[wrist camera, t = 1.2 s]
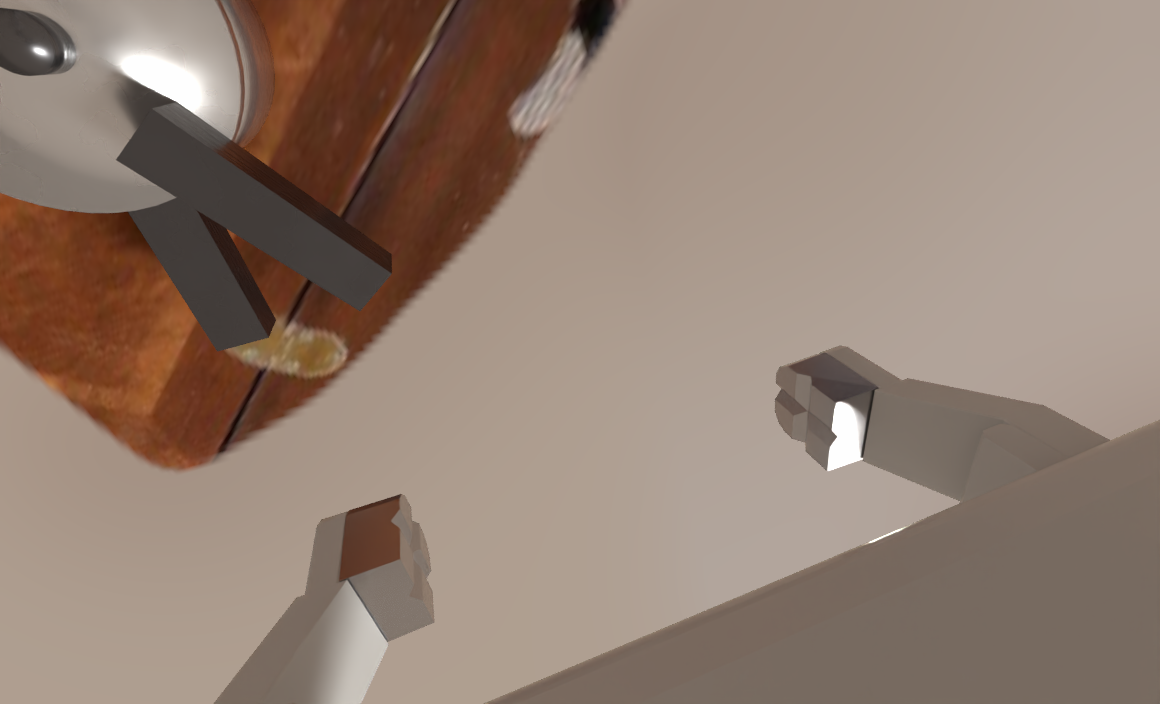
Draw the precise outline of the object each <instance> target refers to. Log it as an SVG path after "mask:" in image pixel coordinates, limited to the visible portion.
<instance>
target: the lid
mask: <svg viewBox="0 0 1160 704" xmlns="http://www.w3.org/2000/svg"><path fill="white" fill-rule="evenodd" d="M244 99H245V83H244V70H243V64H242V60H241V55H240V50H239V46H238V43H237V40H236V37H235V34H234V31H233V28H232V25H231V22H230V20H229V18H228V16H227V14H226V12H225V9H224V7H223V5H222V3H221V1H220V0H0V193H3V194H5V195H8V196H11V197H13V198H17V199H20V200H23V201H27V202H30V203H34V204H37V205H41V206H46V207H51V208H56V209H61V210H66V211H76V212H86V213H119V212H127V211H136V210H140V209H145V208H149V207H153V206H157V205H159V204H162V203H165V202H167V201H170V200H172V199H175V198H178V199H180V200H181V201H183V202H184V203H186V204H188V205H189V206H191V207H193V208H194V209H196V210H197V211H199V212H201V213H202V214H204V215H205V216H207V217H209V218H210V219H212V220H214V221H215V222H217V223H218V224H220V225H222V226H223V227H225V228H226V229H228V230H230V231H231V232H233V233H235V234H236V235H238V236H239V237H241V238H243V239H244V240H246V241H247V242H249V243H251V244H252V245H254V246H256V247H257V248H259V249H260V250H262V251H264V252H265V253H267V254H268V255H270V256H272V257H273V258H275V259H277V260H278V261H280V262H281V263H283V264H285V265H286V266H288V267H289V268H291V269H293V270H294V271H296V272H298V273H299V274H301V275H302V276H304V277H306V278H307V279H309V280H310V281H312V282H314V283H315V284H317V285H319V286H320V287H322V288H323V289H325V290H327V291H328V292H330V293H331V294H333V295H335V296H336V297H338V298H340V299H341V300H343V301H344V302H346V303H348V304H349V305H351V306H352V307H354V308H356V309H357V310H359V311H361V309H362V308H363V307H364V306H365V305H366V304H367V302H368V301H369V300H370V299H371V298H372V296H373V295H374V294H375V293H376V292H377V291H378V289H379V288H380V287H381V286H382V285H383V283H384V282H385V281H386V280H387V279H388V277H389V276H390V275H391V274H392V257H391V254H390V253H389V252H388V251H386V250H385V249H383V248H382V247H381V246H379V245H378V244H376V243H375V242H374V241H372V240H371V239H369V238H368V237H367V236H365V235H364V234H362V233H361V232H360V231H358V230H357V229H355V228H354V227H352V226H351V225H350V224H348V223H347V222H345V221H344V220H343V219H341V218H340V217H338V216H337V215H336V214H334V213H333V212H331V211H330V210H329V209H327V208H326V207H324V206H323V205H322V204H320V203H319V202H317V201H316V200H315V199H313V198H312V197H310V196H309V195H308V194H306V193H305V192H303V191H302V190H301V189H299V188H298V187H296V186H295V185H294V184H292V183H291V182H289V181H288V180H286V179H285V178H284V177H282V176H281V175H279V174H278V173H277V172H275V171H274V170H272V169H271V168H270V167H268V166H267V165H265V164H264V163H263V162H261V161H260V160H258V159H257V158H256V157H254V156H253V155H251V154H250V153H249V152H247V151H246V150H244V149H243V148H242V147H240V146H239V145H237V144H236V143H235V142H234V141H235V139H236V136H237V134H238V131H239V129H240V125H241V120H242V116H243V111H244Z"/></svg>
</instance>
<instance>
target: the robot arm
mask: <svg viewBox="0 0 1160 704" xmlns="http://www.w3.org/2000/svg"><path fill="white" fill-rule="evenodd" d="M776 384H777V385H778V386H779V387H780V388H781V391H780V392H779V394H778V396H777V397H776V399H775V413H776V416H777V419H778V422H779V424H780V425H781V427H782V428H783V430H784V431H785V432H786V433H787V434H788V435H789V436H790V437H791V438H792V439H795V440H798V441H802V442H805V448H806V452H807V453H808V454H809V455H810V456H811V457H812V458H813V459H814V460H816V461H817V462H818V463H819V464H820V465H821V466H822V467H823V468H824V469H825V470H826V471H829V470H832V469H835V468H838V467H841V466H844V465H846V464H849V463H852V462H855V461H858V460H861V459H863V461H864V462H867V463H869V464H871V465H874V466H876V467H878V468H881V469H883V470H886V471H888V472H891V473H893V474H895V475H898V476H900V477H903V478H905V479H907V480H910V481H912V482H915V483H917V484H920V485H922V486H925V487H927V488H929V489H932V490H934V491H937V492H939V493H941V494H944V495H946V496H949V497H951V498H953V499H956V500H958V501H960V503H959V504H958V505H955V506H953V507H951V508H948V509H946V510H943V511H941V512H939V513H937V514H934V515H932V516H929V517H927V518H925V519H922V520H920V521H917V522H915V523H912V524H910V525H908V526H906V527H903V528H901V529H898V530H896V531H893V532H891V533H889V534H887V535H884V536H882V537H879V538H877V539H875V540H872V541H870V542H867V543H865V544H863V545H860V546H858V547H856V548H853V549H851V550H849V551H846V552H844V553H841V554H839V555H837V556H834V557H832V558H830V559H827V560H825V561H823V562H820V563H818V564H815V565H813V566H811V567H809V568H806V569H804V570H801V571H799V572H796V573H794V574H792V575H789V576H787V577H785V578H782V579H780V580H777V581H775V582H773V583H770V584H768V585H766V586H763V587H761V588H758V589H756V590H754V591H751V592H749V593H746V594H745V595H742V596H740V597H737V598H734V599H732V600H730V601H727V602H725V603H723V604H720V605H718V606H715V607H713V608H711V609H708V610H706V611H703V612H701V613H699V614H697V615H694V616H692V617H689V618H687V619H684V620H682V621H680V622H677V623H675V624H672V625H670V626H668V627H665V628H663V629H661V630H658V631H656V632H653V633H651V634H649V635H646V636H644V637H642V638H639V639H637V640H635V641H632V642H630V643H627V644H625V645H623V646H620V647H618V648H615V649H613V650H611V651H608V652H606V653H603V654H601V655H599V656H596V657H594V658H592V659H589V660H587V661H584V662H582V663H580V664H577V665H575V666H572V667H570V668H568V669H565V670H563V671H561V672H558V673H556V674H553V675H551V676H549V677H546V678H544V679H541V680H539V681H537V682H534V683H532V684H530V685H527V686H525V687H522V688H520V689H518V690H515V691H513V692H511V693H508V694H506V695H503V696H501V697H499V698H496V699H494V700H491V701H489V702H487V703H484V704H1160V420H1158V421H1155V422H1153V423H1151V424H1148V425H1146V426H1143V427H1141V428H1139V429H1137V430H1134V431H1132V432H1129V433H1127V434H1124V435H1122V436H1120V437H1117V438H1115V439H1113V440H1109V439H1107V438H1105V437H1103V436H1101V435H1099V434H1097V433H1095V432H1093V431H1092V430H1090V429H1088V428H1086V427H1084V426H1082V425H1080V424H1078V423H1076V422H1075V421H1073V420H1071V419H1069V418H1067V417H1065V416H1063V415H1061V414H1059V413H1057V412H1055V411H1053V410H1051V409H1050V408H1048V407H1046V406H1044V405H1039V404H1034V403H1030V402H1024V401H1019V400H1015V399H1010V398H1004V397H999V396H994V395H989V394H984V393H979V392H974V391H969V390H964V389H959V388H954V387H949V386H944V385H939V384H934V383H929V382H924V381H919V380H914V379H908V378H907V379H905V380H900V379H899V378H897V377H896V376H894V375H892V374H891V373H889V372H887V371H886V370H884V369H883V368H881V367H879V366H878V365H876V364H874V363H873V362H871V361H870V360H868V359H866V358H865V357H863V356H861V355H860V354H858V353H857V352H855V351H853V350H852V349H850V348H848V347H845V346H837V347H834V348H831V349H829V350H826V351H823V352H821V353H819V354H816V355H813V356H810V357H807V358H804V359H802V360H799V361H796V362H793V363H790V364H787V365H784V366H781V367H779V369H778V371H777V373H776ZM430 572H431V566H430V557H429V552H428V548H427V543H426V540H425V537H424V534H423V532H422V529H421V527H420V525H419V523H417V522H414V521H412V514H411V506H410V504H409V503H408V501H407V499H406V497H405V496H404V495H402V494H400V495H397V496H394V497H391V498H387V499H384V500H381V501H378V502H375V503H371V504H369V505H365V506H362V507H359V508H356V509H352V510H349V511H348V512H344V513H341V514H338V515H335V516H332V517H329V518H325V519H322V520H321V521H320V523H319V524H318V525H317V528H316V534H315V539H314V545H313V551H312V556H311V562H310V568H309V574H308V580H307V585H306V591H305V595H303V596H300V597H297V598H296V599H295V600H294V601H293V603H292V604H291V605H290V607H289V608H288V609H287V610H286V612H285V613H284V614H283V615H282V617H281V618H280V619H279V621H278V622H277V623H276V624H275V626H274V627H273V628H272V630H271V631H270V632H269V633H268V635H267V636H266V637H265V638H264V640H263V641H262V642H261V644H260V645H259V646H258V647H257V649H256V650H255V651H254V653H253V654H252V655H251V656H250V658H249V659H248V660H247V662H246V663H245V664H244V666H243V667H242V668H241V669H240V670H239V672H238V673H237V674H236V676H235V677H234V678H233V680H232V681H231V682H230V683H229V685H228V686H227V687H226V688H225V690H224V691H223V692H222V694H221V695H220V696H219V697H218V699H217V700H216V701H215V702H214V704H361V702H362V700H363V698H364V696H365V694H366V692H367V689H368V687H369V685H370V683H371V681H372V679H373V677H374V674H375V672H376V670H377V668H378V666H379V664H380V662H381V659H382V657H383V655H384V653H385V651H386V649H387V647H388V643H387V642H388V641H391V640H393V639H396V638H398V637H400V636H403V635H405V634H408V633H410V632H412V631H415V630H417V629H420V628H422V627H425V626H427V625H429V624H432V623H434V609H433V593H432V589H431V587H430V585H429V583H428V581H427V579H426V578H427V576H428V575H429V573H430Z"/></svg>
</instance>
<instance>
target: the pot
mask: <svg viewBox="0 0 1160 704" xmlns="http://www.w3.org/2000/svg"><path fill="white" fill-rule="evenodd" d="M220 1H221V3H222V5H223V7H224V9H225V12H226V14H227V16H228V18H229V20H230V22H231V25H232V28H233V31H234V34H235V37H236V40H237V43H238V46H239V50H240V55H241V60H242V64H243V70H244V83H245V99H244V111H243V116H242V120H241V125H240V129H239V131H238V134H237V136H236V139H235V141H234V142H235V143H236V144H237V145H239V146H240V147H242V148H244V147H245V146H246V145H247V144H248V143H249V142H250V141H251V140H252V139H253V138H254V137H255V136H256V134H257V133H258V132H259V131H260V129H261V128H262V126H263V124H264V122H265V120H266V118H267V116H268V114H269V111H270V108H271V105H272V100H273V95H274V87H275V70H274V60H273V55H272V51H271V46H270V42H269V39H268V36H267V33H266V30H265V28H264V25H263V23H262V21H261V19H260V16H259V14H258V12H257V10H256V8H255V6H254V5H253V3H252V1H251V0H220ZM128 213H129V214H130V216H131V217H132V219H133V221H134V222H135V224H136V225H137V227H138V228H139V230H140V231H141V233H142V235H143V236H144V238H145V239H146V241H147V242H148V244H149V245H150V247H151V249H152V250H153V252H154V253H155V255H156V256H157V258H158V260H159V261H160V263H161V264H162V266H163V267H164V269H165V270H166V272H167V274H168V275H169V277H170V278H171V280H172V281H173V283H174V284H175V286H176V288H177V289H178V291H179V292H180V294H181V295H182V297H183V299H184V300H185V302H186V303H187V305H188V306H189V308H190V309H191V311H192V313H193V314H194V316H195V317H196V319H197V320H198V322H199V323H200V325H201V327H202V328H203V330H204V331H205V333H206V334H207V336H208V338H209V339H210V341H211V342H212V344H213V345H214V347H215V348H216V350H217V351H221V350H224V349H228V348H232V347H235V346H239V345H243V344H246V343H250V342H254V341H257V340H261V339H265V338H269V336H270V333H271V331H272V328H273V326H274V324H275V321H276V319H275V317H274V315H273V314H272V312H271V310H270V308H269V306H268V304H267V303H266V301H265V299H264V297H263V295H262V293H261V292H260V290H259V288H258V286H257V284H256V282H255V281H254V279H253V277H252V275H251V273H250V271H249V270H248V268H247V266H246V264H245V262H244V260H243V259H242V257H241V255H240V253H239V251H238V249H237V248H236V246H235V244H234V242H233V240H232V238H231V237H230V235H229V233H228V231H227V229H226V228H225V227H223V226H222V225H220V224H218V223H217V222H215V221H214V220H212V219H210V218H209V217H207V216H205V215H204V214H202V213H201V212H199V211H197V210H196V209H194V208H193V207H191V206H189V205H188V204H186V203H184V202H183V201H181V200H180V199H178V198H175V199H172V200H170V201H167V202H165V203H162V204H159V205H157V206H153V207H149V208H145V209H140V210H136V211H128Z"/></svg>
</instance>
